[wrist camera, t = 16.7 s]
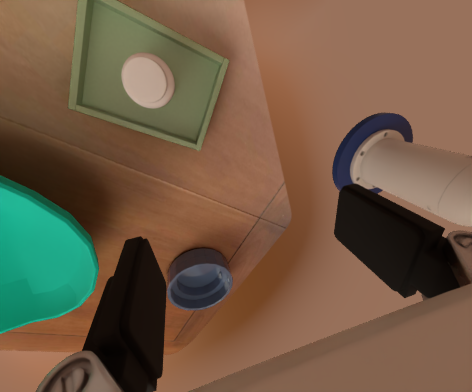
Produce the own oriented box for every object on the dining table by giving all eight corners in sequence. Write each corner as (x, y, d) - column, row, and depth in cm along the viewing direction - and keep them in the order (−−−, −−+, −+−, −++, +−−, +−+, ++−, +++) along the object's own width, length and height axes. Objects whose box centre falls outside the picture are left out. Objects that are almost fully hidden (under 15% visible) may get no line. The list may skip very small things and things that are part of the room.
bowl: (235, 250, 47) (241, 267, 43) (216, 292, 51) (220, 310, 47) (177, 243, 42) (177, 260, 37) (161, 289, 46) (160, 310, 42)
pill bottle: (181, 97, 30) (184, 100, 22) (146, 111, 29) (135, 119, 21) (162, 54, 27) (158, 38, 19) (123, 68, 27) (101, 58, 18)
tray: (225, 62, 30) (229, 60, 28) (198, 146, 34) (200, 151, 32) (89, -9, 23) (79, -20, 21) (76, 106, 28) (67, 108, 25)
